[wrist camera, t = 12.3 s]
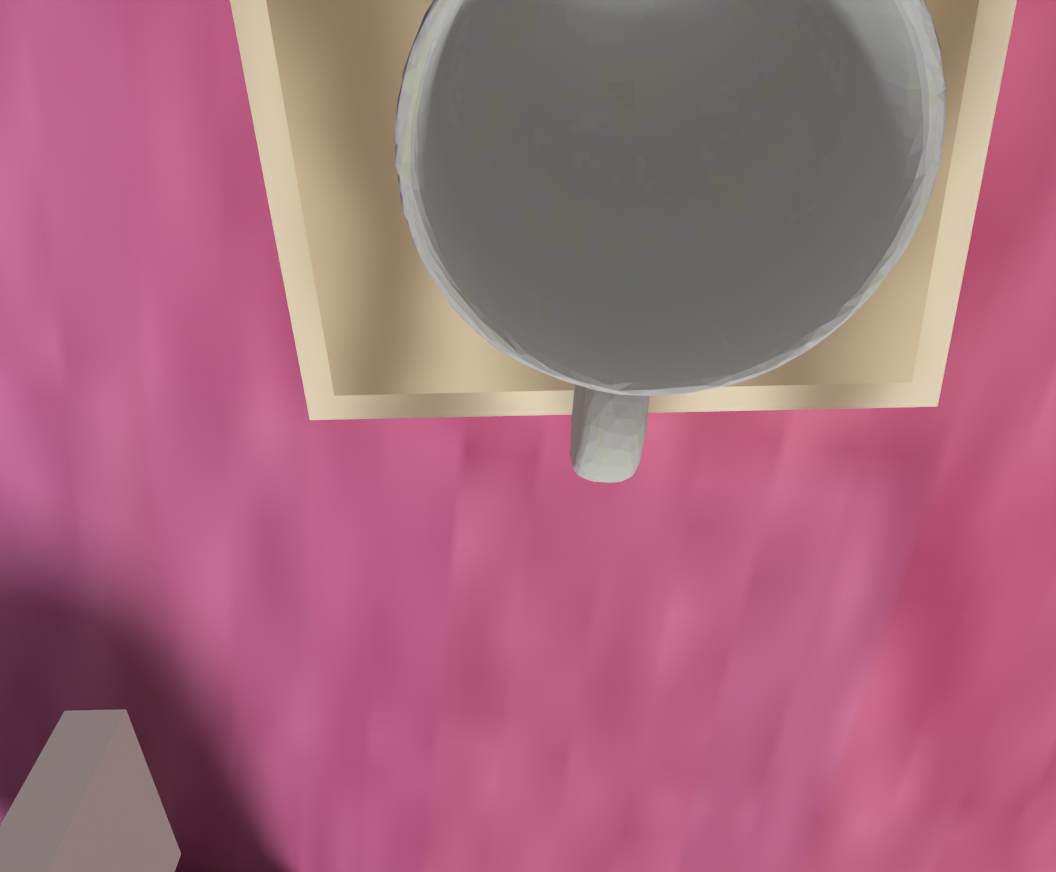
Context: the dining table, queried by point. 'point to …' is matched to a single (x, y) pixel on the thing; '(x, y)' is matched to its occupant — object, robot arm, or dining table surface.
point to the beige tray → (426, 315)
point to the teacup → (664, 184)
